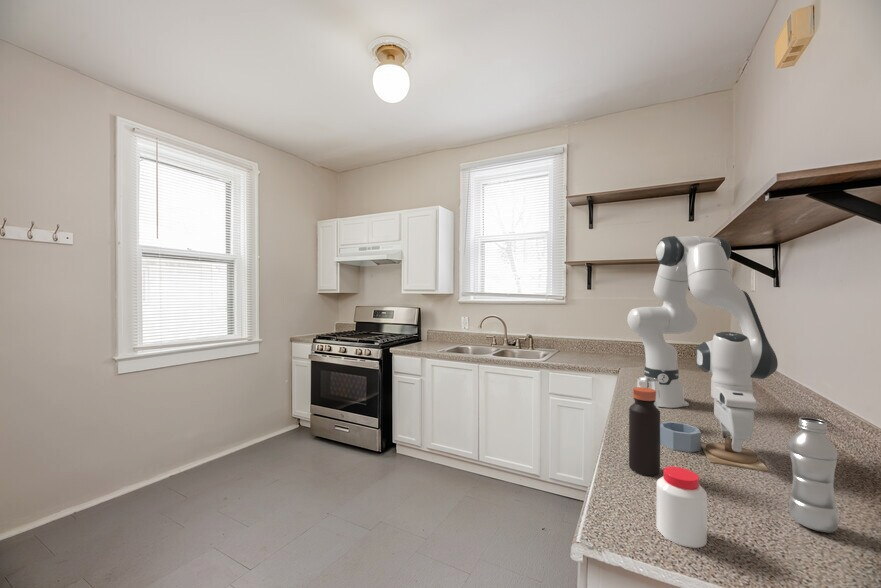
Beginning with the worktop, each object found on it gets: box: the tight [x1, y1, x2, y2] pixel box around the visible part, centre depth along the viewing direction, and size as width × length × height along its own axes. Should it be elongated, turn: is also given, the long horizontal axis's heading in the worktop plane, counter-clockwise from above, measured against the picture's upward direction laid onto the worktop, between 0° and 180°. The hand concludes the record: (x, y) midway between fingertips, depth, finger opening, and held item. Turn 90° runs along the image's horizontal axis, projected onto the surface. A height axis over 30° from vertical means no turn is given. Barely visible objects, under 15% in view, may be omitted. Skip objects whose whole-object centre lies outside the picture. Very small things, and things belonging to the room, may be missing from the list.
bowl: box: [660, 421, 702, 453], centre depth 107 cm, size 10×10×5 cm
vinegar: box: [628, 386, 661, 477], centre depth 92 cm, size 7×7×20 cm
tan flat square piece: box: [701, 441, 771, 473], centre depth 100 cm, size 14×12×1 cm
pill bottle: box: [655, 466, 708, 549], centre depth 67 cm, size 8×8×11 cm
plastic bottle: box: [787, 416, 840, 534], centre depth 69 cm, size 6×7×20 cm
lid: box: [706, 437, 759, 464], centre depth 100 cm, size 11×11×4 cm
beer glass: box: [636, 376, 660, 410], centre depth 125 cm, size 7×7×15 cm
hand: (730, 444), depth 100 cm, fingers open, 8 cm apart
